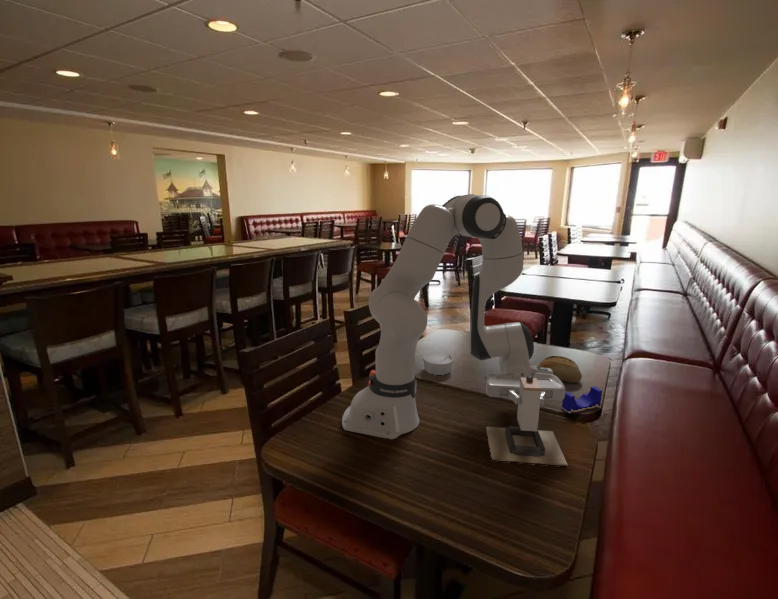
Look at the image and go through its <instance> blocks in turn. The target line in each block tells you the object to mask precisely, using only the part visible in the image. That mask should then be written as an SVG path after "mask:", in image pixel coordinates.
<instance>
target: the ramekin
mask: <svg viewBox="0 0 778 599" xmlns="http://www.w3.org/2000/svg"><path fill="white" fill-rule="evenodd" d="M422 361H423V367H424V370H425V372H426V371H427V372H428V374H429V373H431V374H434V375H433V376H436V375H442V376H446V375H448V374H449V373H450V372H451V371H452V366H453V363H454V357H453V356H452V355H451V354H448V353H445V352H440V351H439V352H437V351H435V352H434V351H432V352H428V353H427V352H426V353H425V354H424V355H423V356H422ZM427 372H426V373H427ZM431 374H430V375H431ZM445 374H446V375H445Z"/></svg>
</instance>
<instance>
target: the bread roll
mask: <svg viewBox="0 0 778 599" xmlns="http://www.w3.org/2000/svg"><path fill="white" fill-rule="evenodd" d="M538 366H539V367H544V368H549V369H551V370H552V371H553V375H555V376H557V377H558V378H559V379H560V380H561V382H566V383H570V384H577V383H580V381H581V380H582V373H581V370H580V368H579V366H578V364H577V363H576V362H575V361H574V360H572V359H570V358H569V357H566V356H559V355H551V356H548V357H546V358H544V359H543V360H541V361H540V362H539V364H538Z"/></svg>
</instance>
